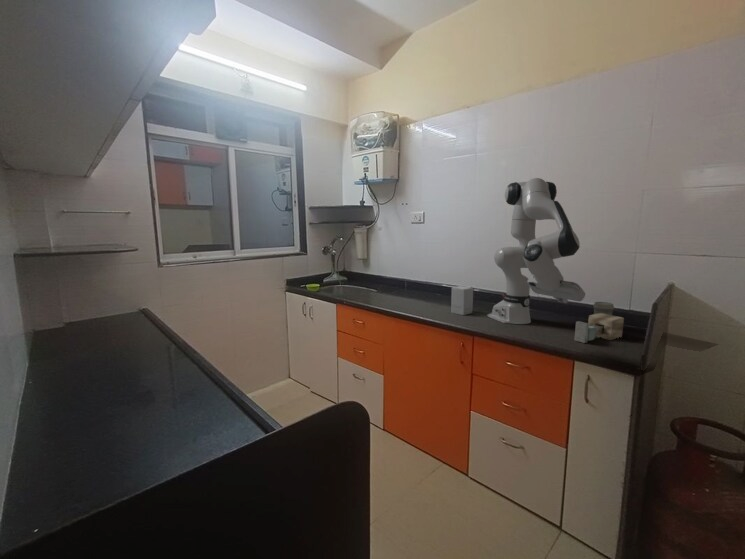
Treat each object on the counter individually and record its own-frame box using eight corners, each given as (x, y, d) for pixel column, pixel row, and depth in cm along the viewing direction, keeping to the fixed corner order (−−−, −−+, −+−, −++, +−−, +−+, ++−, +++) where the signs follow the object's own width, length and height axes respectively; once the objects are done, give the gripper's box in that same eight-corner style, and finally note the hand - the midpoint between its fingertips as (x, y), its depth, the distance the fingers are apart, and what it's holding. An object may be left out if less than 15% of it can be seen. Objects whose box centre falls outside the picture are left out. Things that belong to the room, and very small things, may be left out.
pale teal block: (576, 337, 149) (577, 325, 148) (581, 335, 151) (582, 324, 150) (589, 340, 144) (590, 328, 144) (594, 339, 146) (595, 327, 145)
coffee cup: (607, 325, 170) (609, 301, 168) (615, 330, 162) (618, 305, 160) (588, 324, 172) (590, 301, 170) (595, 329, 164) (597, 304, 162)
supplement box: (473, 313, 196) (474, 287, 194) (463, 315, 191) (464, 289, 188) (460, 310, 203) (460, 285, 201) (450, 312, 198) (451, 287, 195)
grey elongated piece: (574, 340, 148) (575, 321, 146) (598, 333, 156) (600, 316, 155) (584, 343, 144) (586, 324, 143) (608, 336, 152) (610, 318, 151)
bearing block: (587, 334, 157) (588, 315, 155) (598, 331, 161) (600, 312, 160) (610, 340, 148) (612, 320, 147) (621, 337, 152) (624, 317, 151)
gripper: (580, 276, 122) (594, 300, 128) (531, 270, 140) (544, 291, 146) (572, 289, 121) (586, 313, 127) (523, 281, 139) (537, 302, 145)
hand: (563, 301), depth 137 cm, fingers closed
